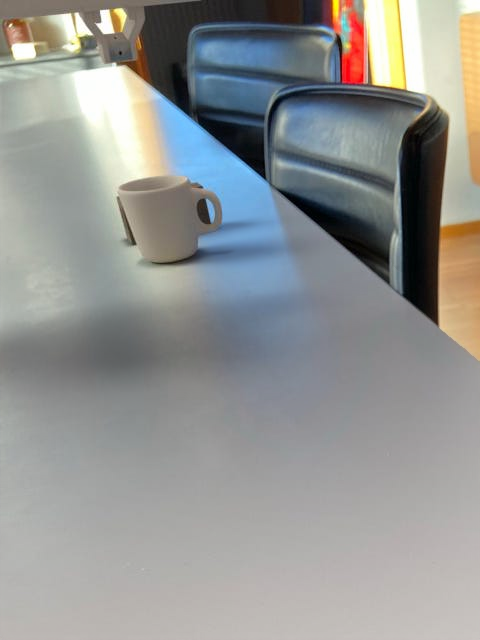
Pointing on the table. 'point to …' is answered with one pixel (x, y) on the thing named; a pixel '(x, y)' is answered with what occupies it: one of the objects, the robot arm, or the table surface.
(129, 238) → the stop strip
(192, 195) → the cup
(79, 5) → the robot arm
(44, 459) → the table surface
